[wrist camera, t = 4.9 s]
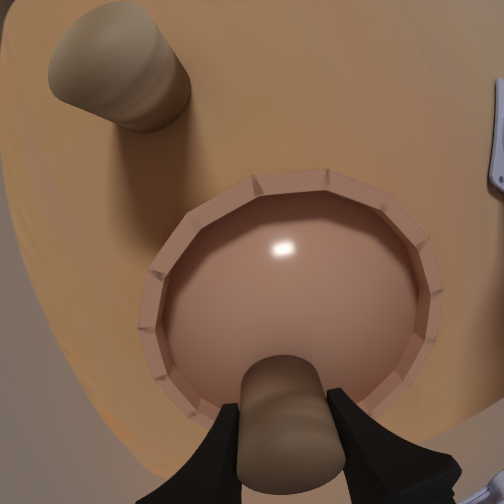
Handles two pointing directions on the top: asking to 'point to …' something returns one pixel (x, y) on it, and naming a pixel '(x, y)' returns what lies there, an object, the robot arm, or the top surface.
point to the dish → (291, 292)
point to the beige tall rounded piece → (120, 69)
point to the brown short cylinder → (286, 428)
